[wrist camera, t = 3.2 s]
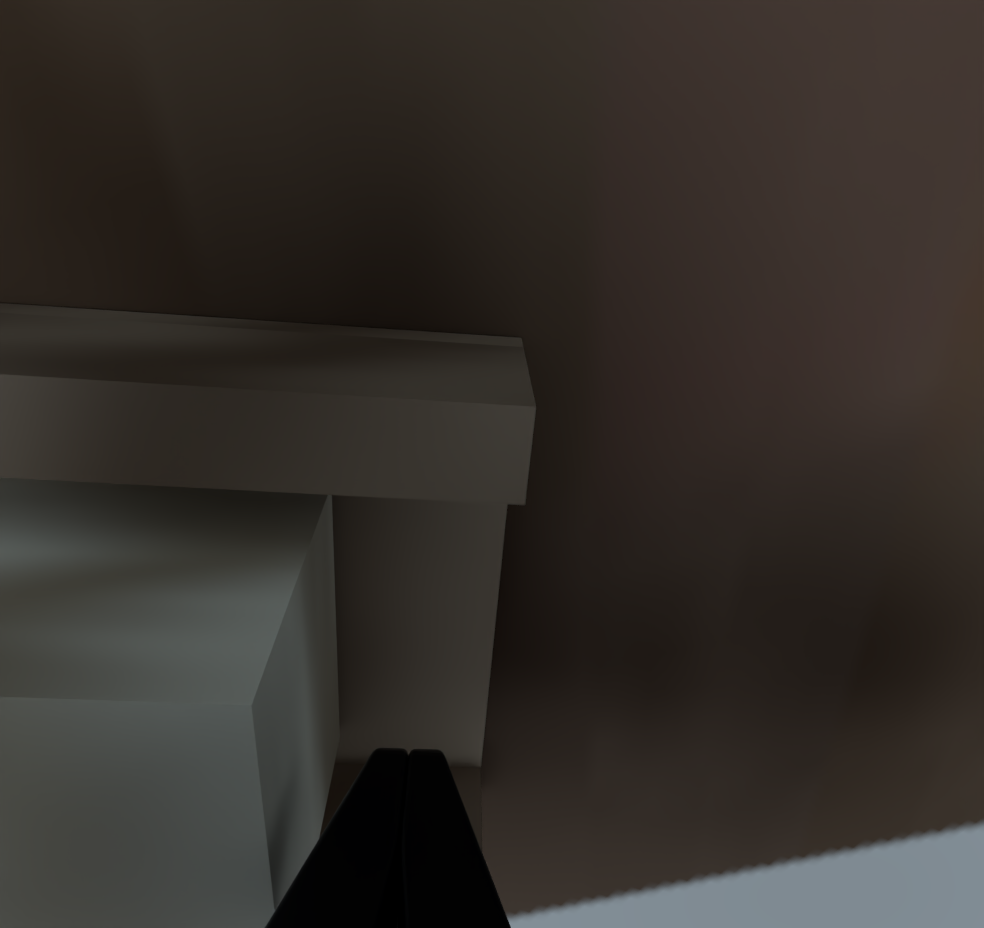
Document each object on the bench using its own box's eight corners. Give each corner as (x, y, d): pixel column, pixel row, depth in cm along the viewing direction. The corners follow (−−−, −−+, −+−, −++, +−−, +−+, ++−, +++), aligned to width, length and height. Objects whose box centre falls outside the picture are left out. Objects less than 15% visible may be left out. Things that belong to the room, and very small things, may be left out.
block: (331, 484, 10) (251, 705, 6) (339, 737, 12) (285, 1003, 8) (-43, 464, 9) (-352, 684, 6) (39, 727, 12) (-148, 1000, 8)
